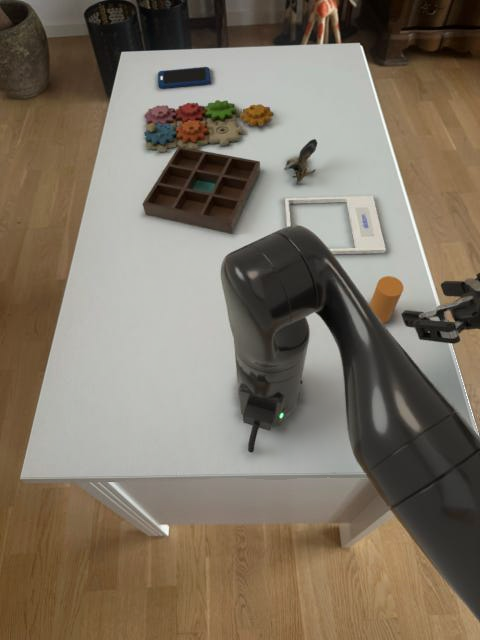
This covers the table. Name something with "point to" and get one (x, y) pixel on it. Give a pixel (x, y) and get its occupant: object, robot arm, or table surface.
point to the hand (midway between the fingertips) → (424, 302)
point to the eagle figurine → (302, 161)
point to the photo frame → (353, 222)
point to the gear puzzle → (199, 124)
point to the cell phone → (184, 77)
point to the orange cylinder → (386, 297)
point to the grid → (203, 189)
